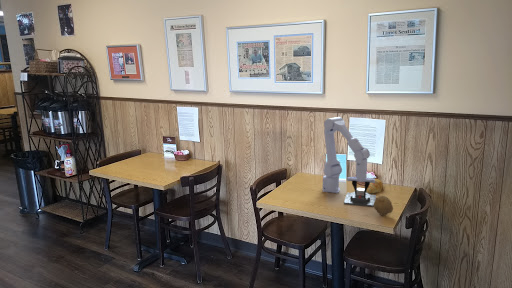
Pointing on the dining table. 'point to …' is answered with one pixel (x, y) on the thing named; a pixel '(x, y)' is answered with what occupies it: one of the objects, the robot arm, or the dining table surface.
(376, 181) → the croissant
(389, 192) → the dining table surface
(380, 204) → the natural sponge
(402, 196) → the dining table surface
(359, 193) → the column
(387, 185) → the dining table surface
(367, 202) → the stand base
